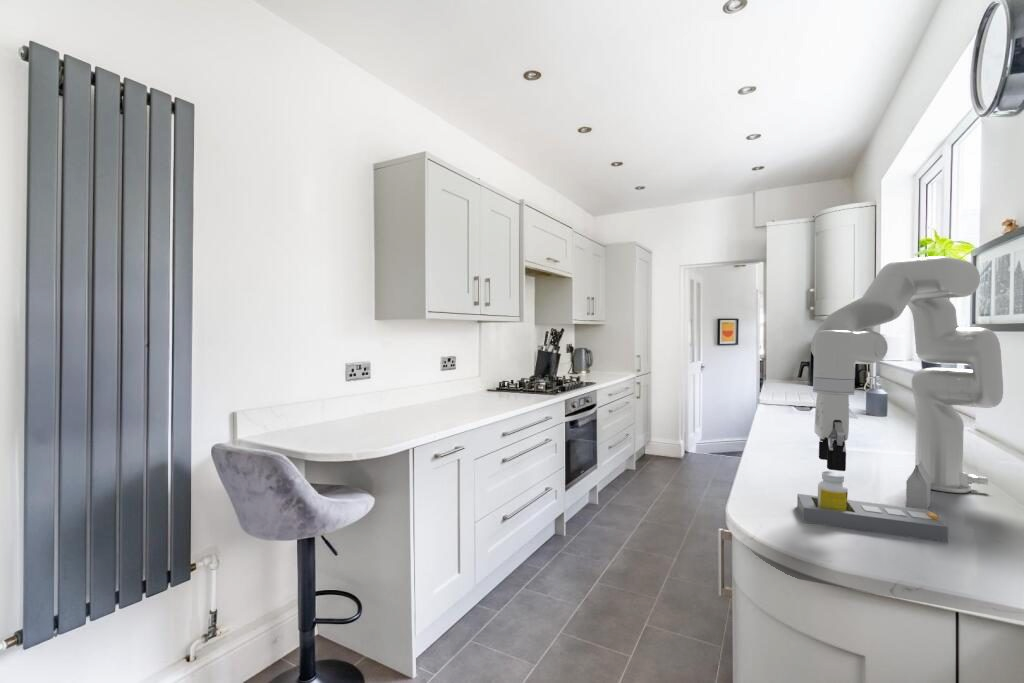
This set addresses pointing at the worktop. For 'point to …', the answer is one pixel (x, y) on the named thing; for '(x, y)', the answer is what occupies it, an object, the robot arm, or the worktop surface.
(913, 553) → the worktop surface
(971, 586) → the worktop surface
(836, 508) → the supplement bottle
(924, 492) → the white gable-top box
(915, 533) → the power strip
